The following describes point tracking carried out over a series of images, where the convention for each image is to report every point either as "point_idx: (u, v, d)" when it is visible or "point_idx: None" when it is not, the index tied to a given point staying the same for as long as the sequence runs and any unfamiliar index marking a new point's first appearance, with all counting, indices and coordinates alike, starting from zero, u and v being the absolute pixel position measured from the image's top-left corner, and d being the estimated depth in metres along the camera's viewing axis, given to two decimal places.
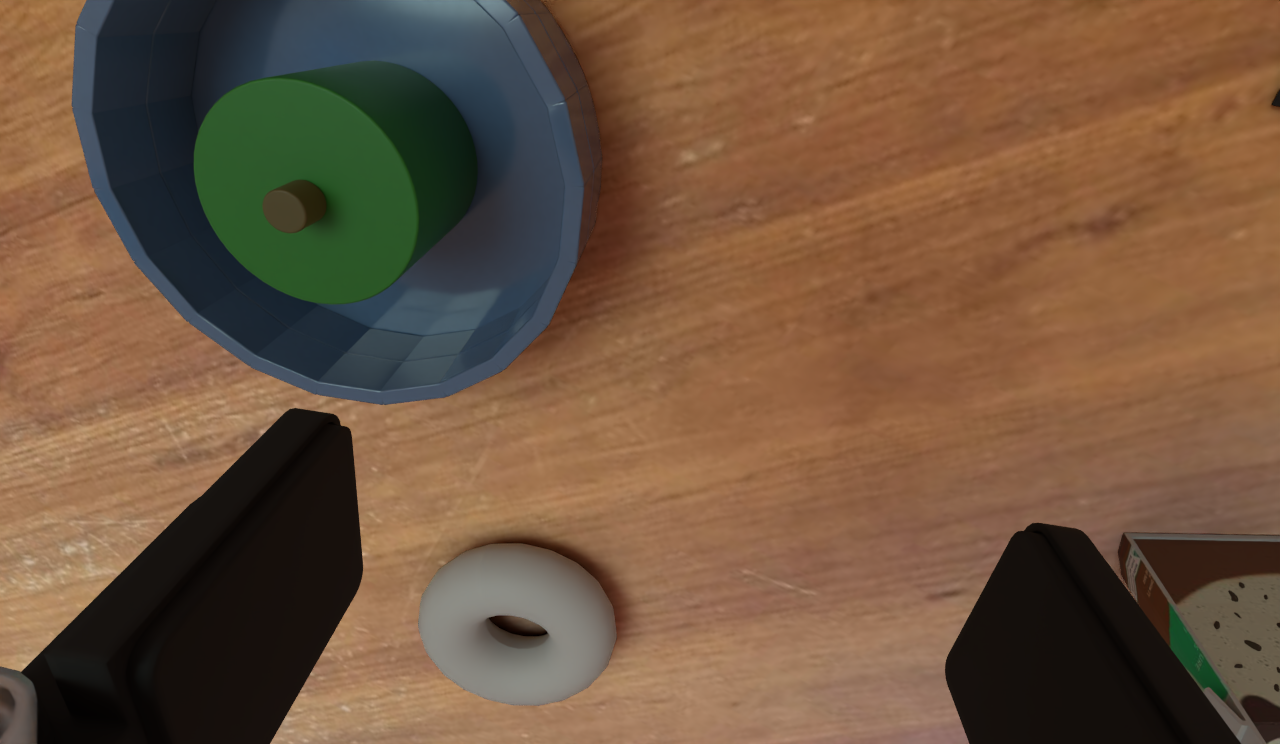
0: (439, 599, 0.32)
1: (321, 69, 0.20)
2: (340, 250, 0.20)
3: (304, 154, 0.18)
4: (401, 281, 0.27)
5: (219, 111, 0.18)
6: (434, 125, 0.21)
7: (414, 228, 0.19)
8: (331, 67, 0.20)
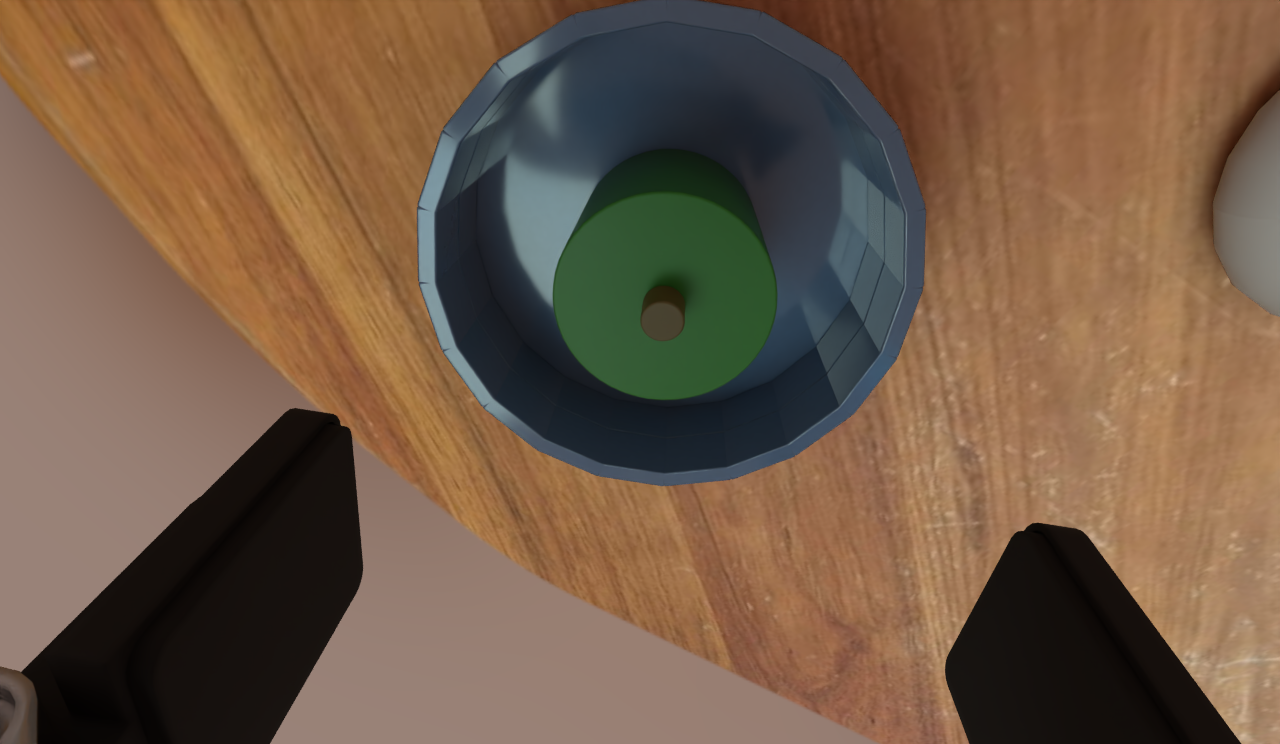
0: None
1: None
2: (716, 283, 0.19)
3: (619, 294, 0.19)
4: (799, 254, 0.24)
5: (583, 358, 0.20)
6: (618, 177, 0.21)
7: (694, 199, 0.18)
8: None
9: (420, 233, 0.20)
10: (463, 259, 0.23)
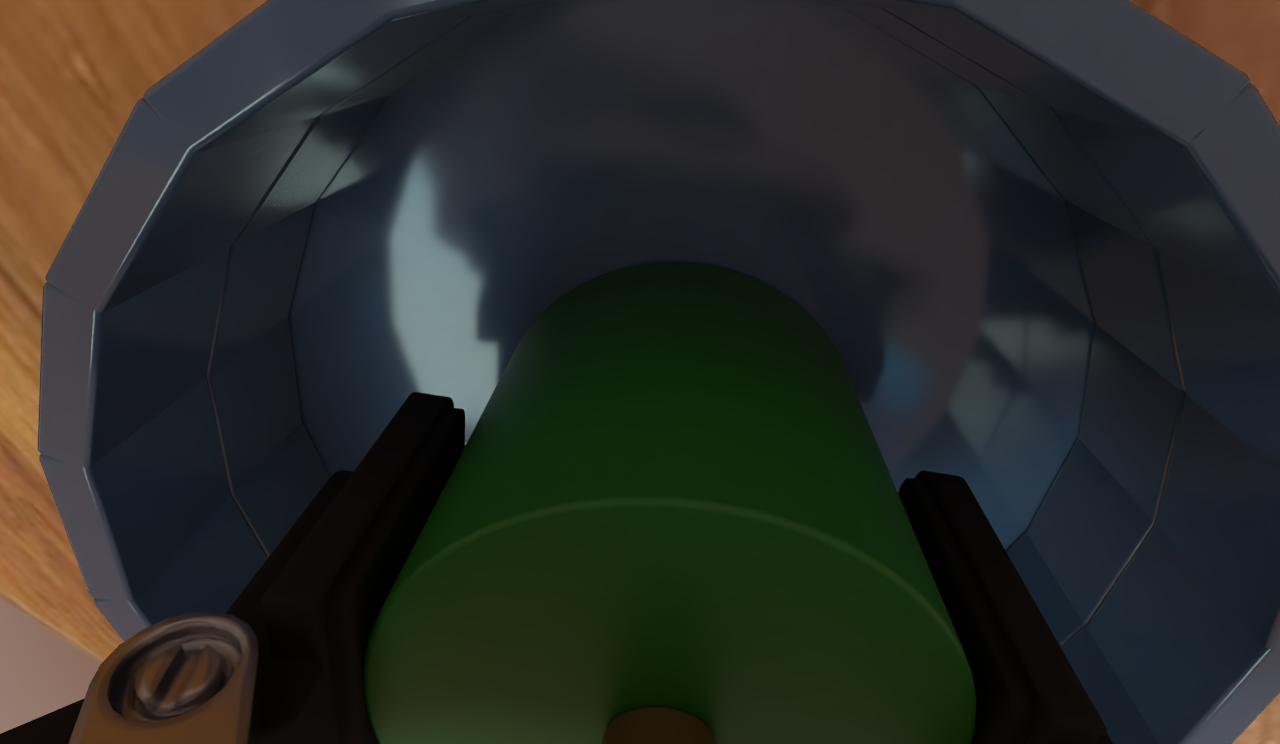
0: None
1: None
2: (805, 706, 0.07)
3: (539, 715, 0.07)
4: (932, 455, 0.12)
5: None
6: (555, 355, 0.09)
7: (752, 523, 0.06)
8: None
9: (63, 508, 0.08)
10: (253, 483, 0.11)
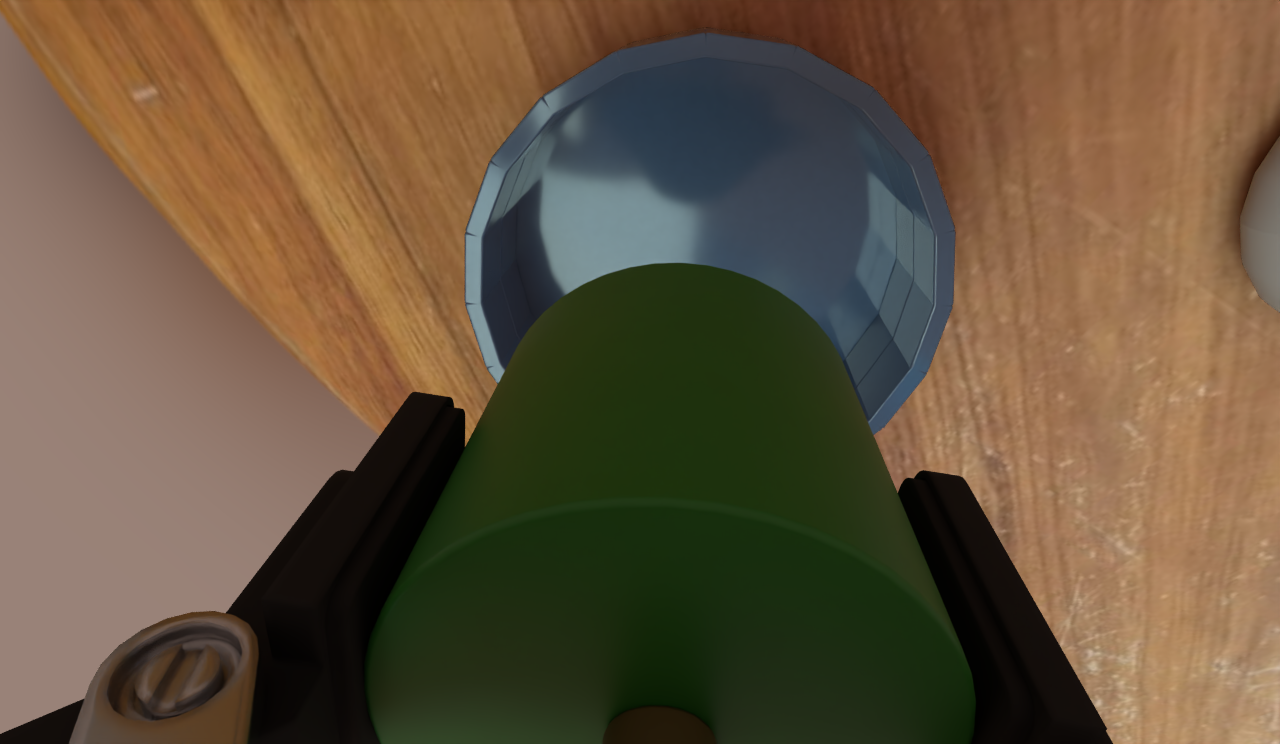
0: None
1: None
2: (806, 706, 0.07)
3: (540, 715, 0.07)
4: (828, 270, 0.25)
5: None
6: (555, 356, 0.09)
7: (752, 523, 0.06)
8: None
9: (467, 257, 0.21)
10: (505, 278, 0.24)
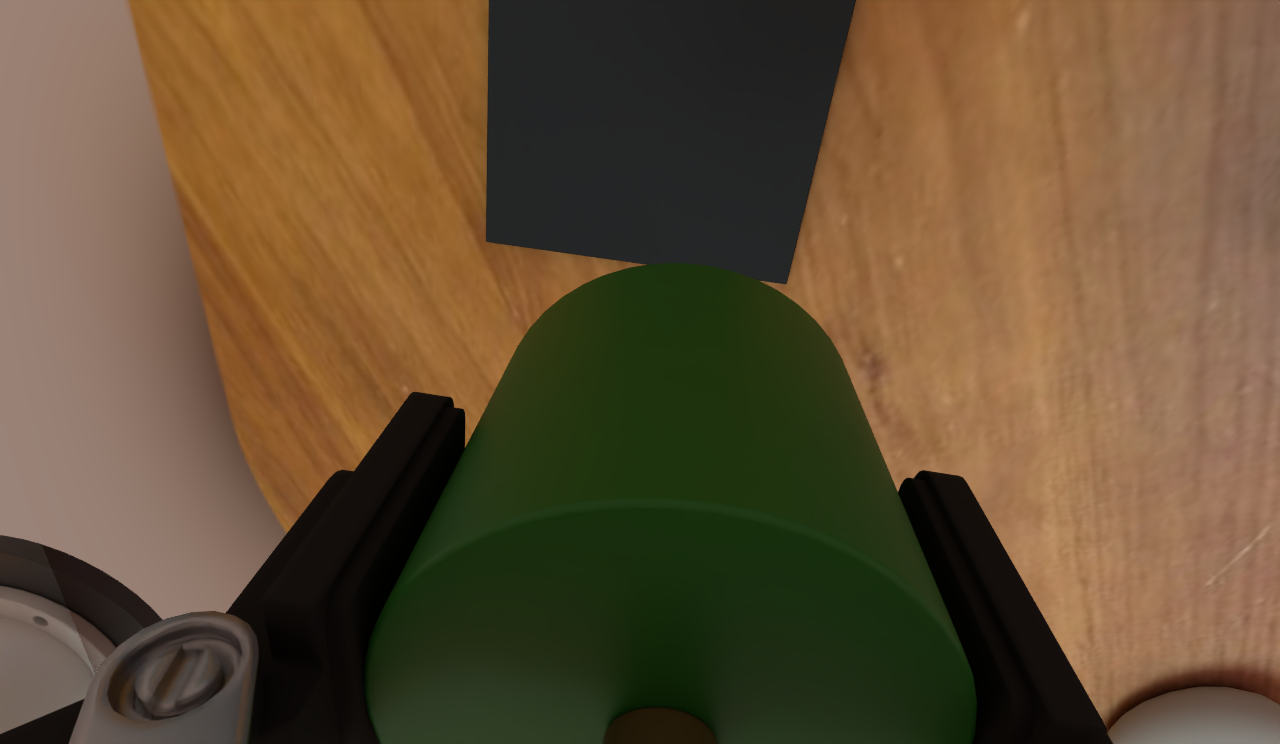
0: None
1: None
2: (807, 707, 0.07)
3: (539, 717, 0.07)
4: None
5: None
6: (555, 356, 0.09)
7: (753, 524, 0.06)
8: None
9: None
10: None
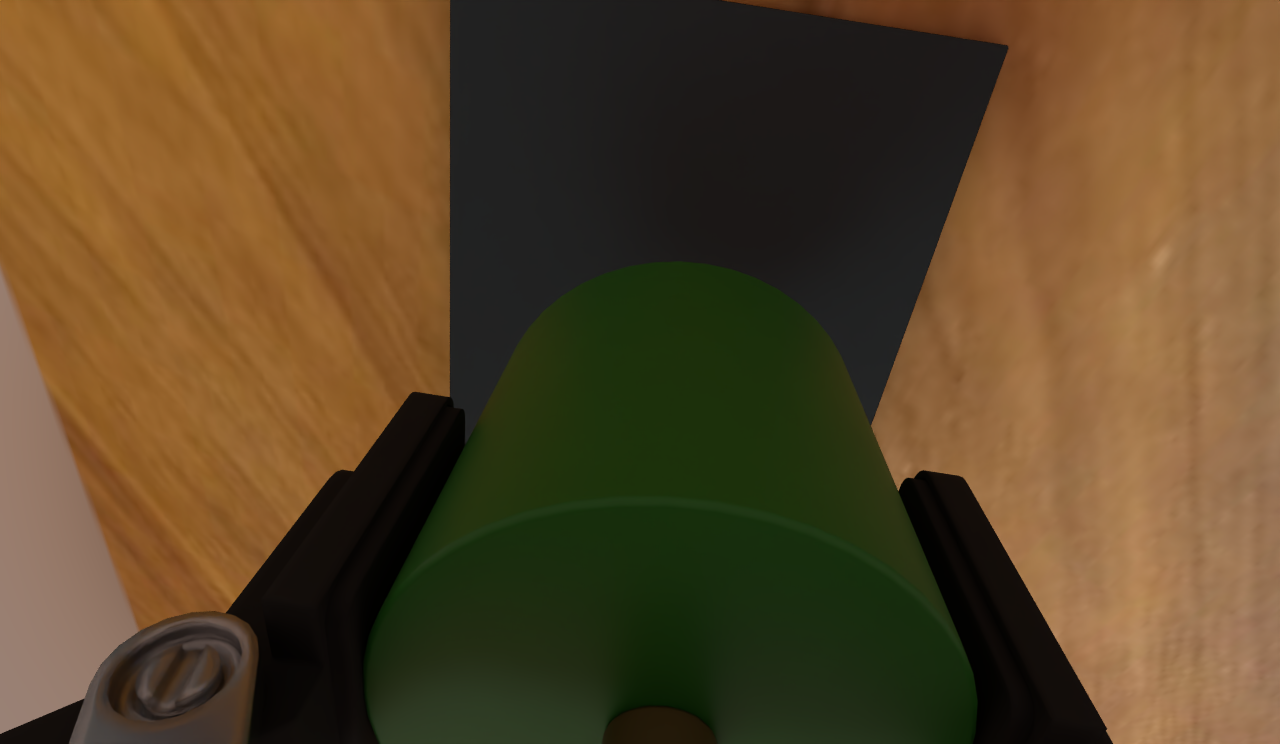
0: None
1: None
2: (807, 707, 0.07)
3: (539, 716, 0.07)
4: None
5: None
6: (554, 355, 0.09)
7: (752, 523, 0.06)
8: None
9: None
10: None
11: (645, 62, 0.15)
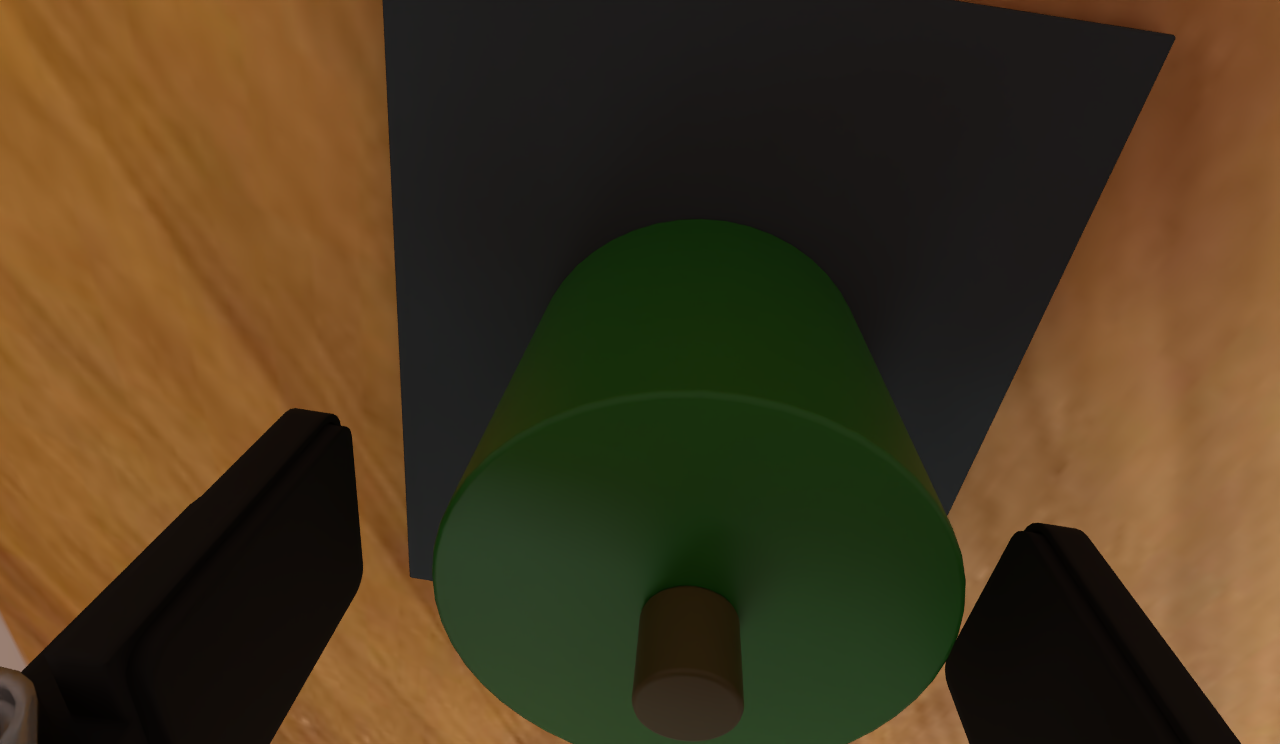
0: None
1: None
2: (818, 586, 0.08)
3: (585, 596, 0.08)
4: None
5: (513, 699, 0.09)
6: (593, 295, 0.10)
7: (773, 413, 0.07)
8: None
9: None
10: None
11: (654, 58, 0.11)
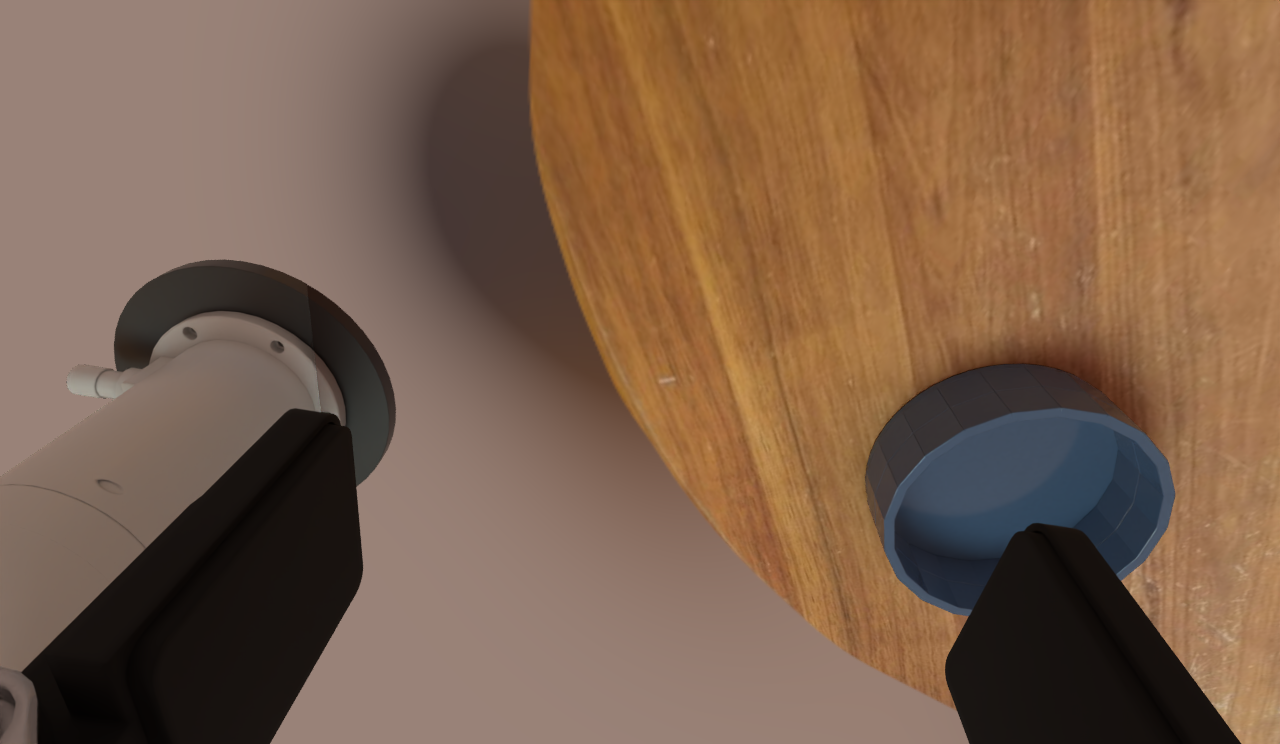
0: None
1: None
2: None
3: None
4: (1069, 483, 0.42)
5: None
6: None
7: None
8: None
9: (895, 498, 0.38)
10: None
11: None
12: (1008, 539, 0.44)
